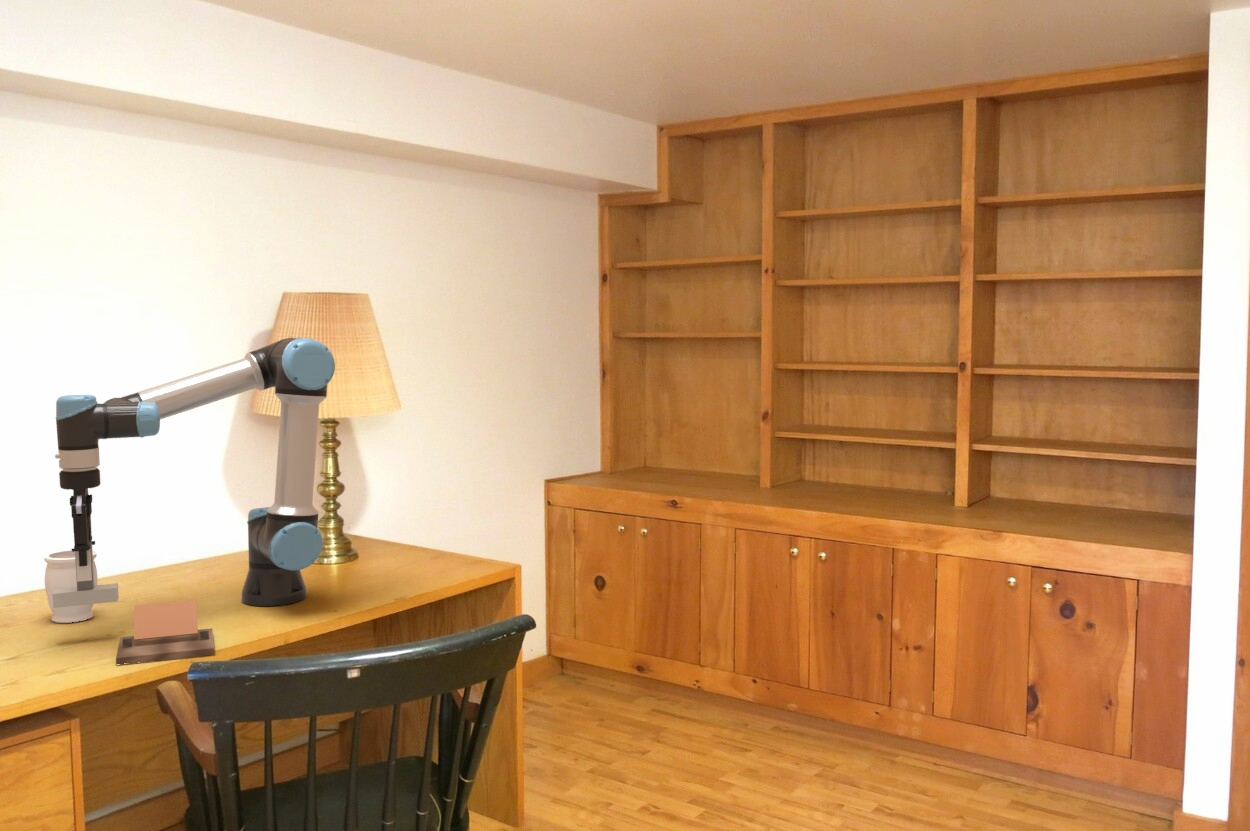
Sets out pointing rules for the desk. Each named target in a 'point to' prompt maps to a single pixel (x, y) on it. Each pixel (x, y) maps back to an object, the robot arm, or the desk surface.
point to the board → (165, 648)
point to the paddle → (85, 592)
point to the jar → (65, 585)
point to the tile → (165, 620)
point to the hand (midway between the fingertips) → (85, 578)
